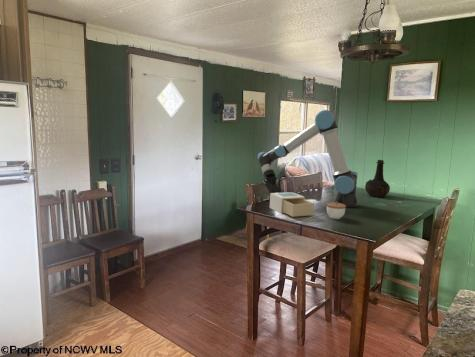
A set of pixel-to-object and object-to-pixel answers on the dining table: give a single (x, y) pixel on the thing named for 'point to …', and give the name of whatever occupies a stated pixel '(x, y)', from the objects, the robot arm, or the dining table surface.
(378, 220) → the dining table surface
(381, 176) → the glass bottle
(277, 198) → the cream box
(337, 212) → the lidded jar
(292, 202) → the tray
